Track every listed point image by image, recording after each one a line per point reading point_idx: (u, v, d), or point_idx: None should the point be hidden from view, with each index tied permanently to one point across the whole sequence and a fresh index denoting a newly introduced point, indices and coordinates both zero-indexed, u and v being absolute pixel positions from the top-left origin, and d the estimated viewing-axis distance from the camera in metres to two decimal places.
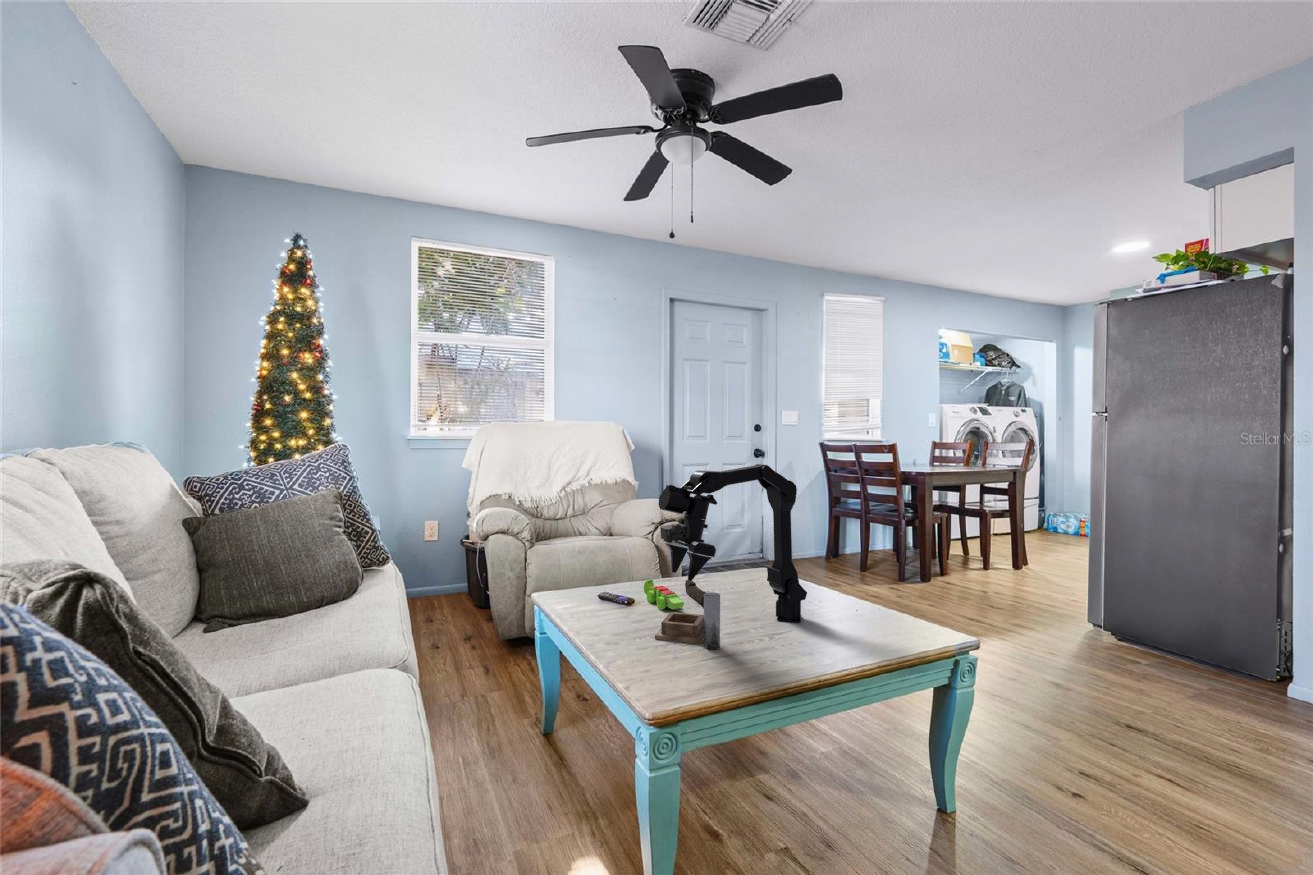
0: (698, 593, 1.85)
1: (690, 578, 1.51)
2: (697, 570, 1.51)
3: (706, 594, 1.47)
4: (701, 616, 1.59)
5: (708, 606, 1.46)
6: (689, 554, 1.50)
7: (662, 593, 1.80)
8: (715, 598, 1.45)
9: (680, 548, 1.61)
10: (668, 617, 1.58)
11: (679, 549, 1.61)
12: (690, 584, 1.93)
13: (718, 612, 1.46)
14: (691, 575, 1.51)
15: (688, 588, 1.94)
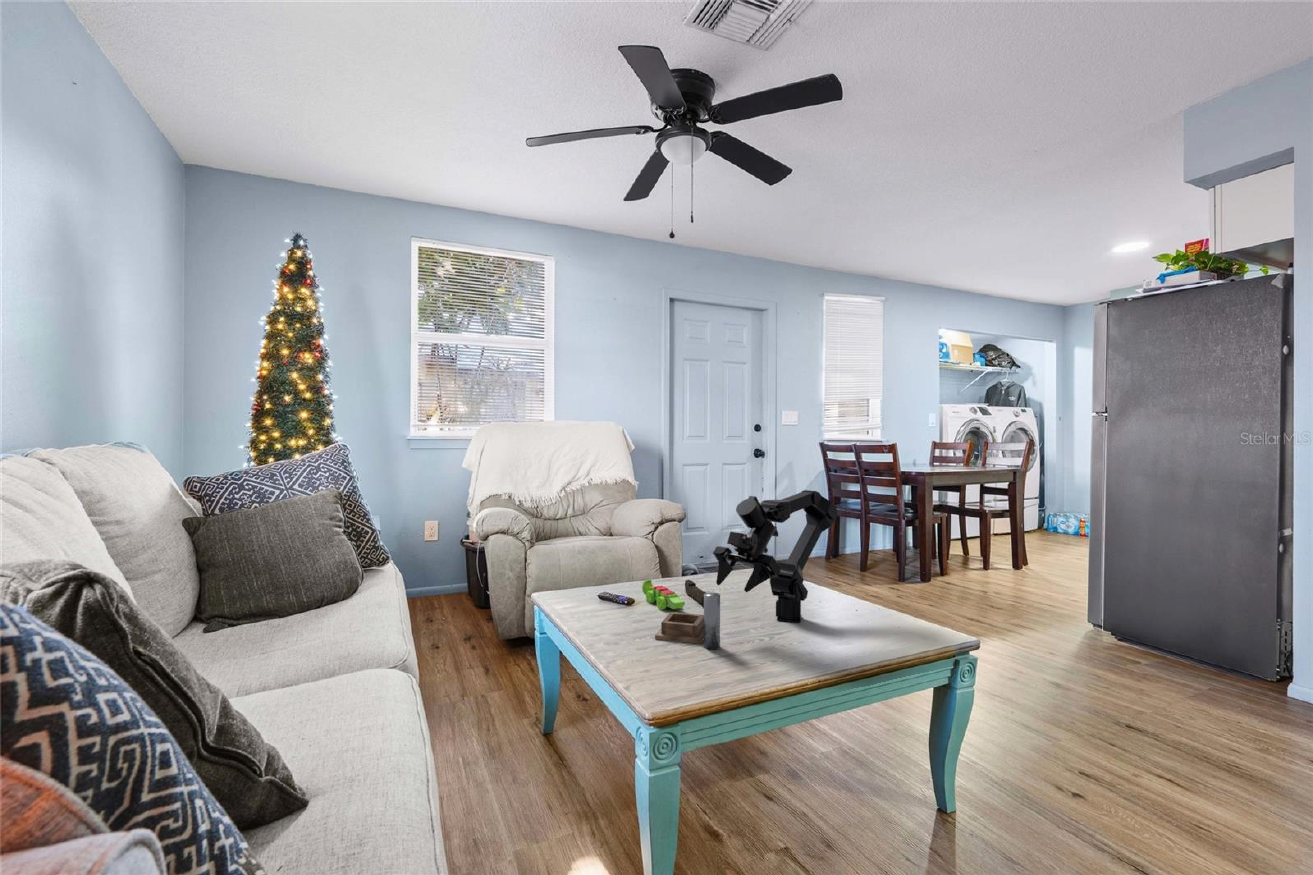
0: (698, 593, 1.85)
1: (747, 589, 1.49)
2: (755, 584, 1.50)
3: (706, 594, 1.47)
4: (701, 616, 1.59)
5: (708, 606, 1.46)
6: (757, 564, 1.50)
7: (662, 593, 1.80)
8: (715, 598, 1.45)
9: (728, 564, 1.60)
10: (668, 617, 1.58)
11: (727, 565, 1.59)
12: (690, 584, 1.93)
13: (718, 612, 1.46)
14: (749, 586, 1.49)
15: (688, 588, 1.94)
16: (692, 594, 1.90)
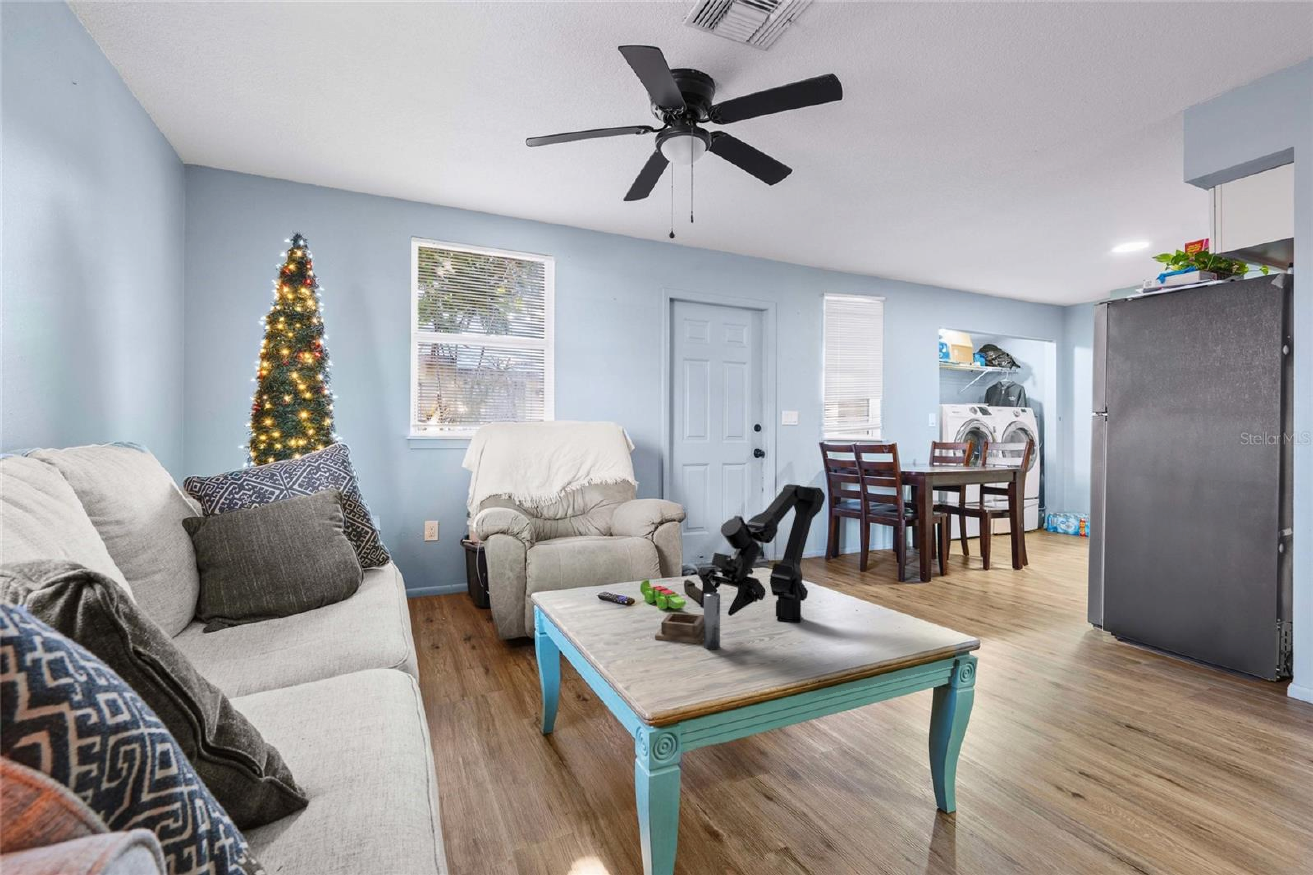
0: (698, 593, 1.85)
1: (731, 613, 1.45)
2: (739, 608, 1.46)
3: (706, 594, 1.47)
4: (701, 616, 1.59)
5: (708, 606, 1.46)
6: (741, 587, 1.45)
7: (663, 593, 1.80)
8: (715, 598, 1.45)
9: (712, 586, 1.55)
10: (668, 617, 1.58)
11: (712, 586, 1.55)
12: (689, 584, 1.93)
13: (718, 612, 1.46)
14: (733, 609, 1.45)
15: (687, 588, 1.93)
16: (692, 594, 1.90)
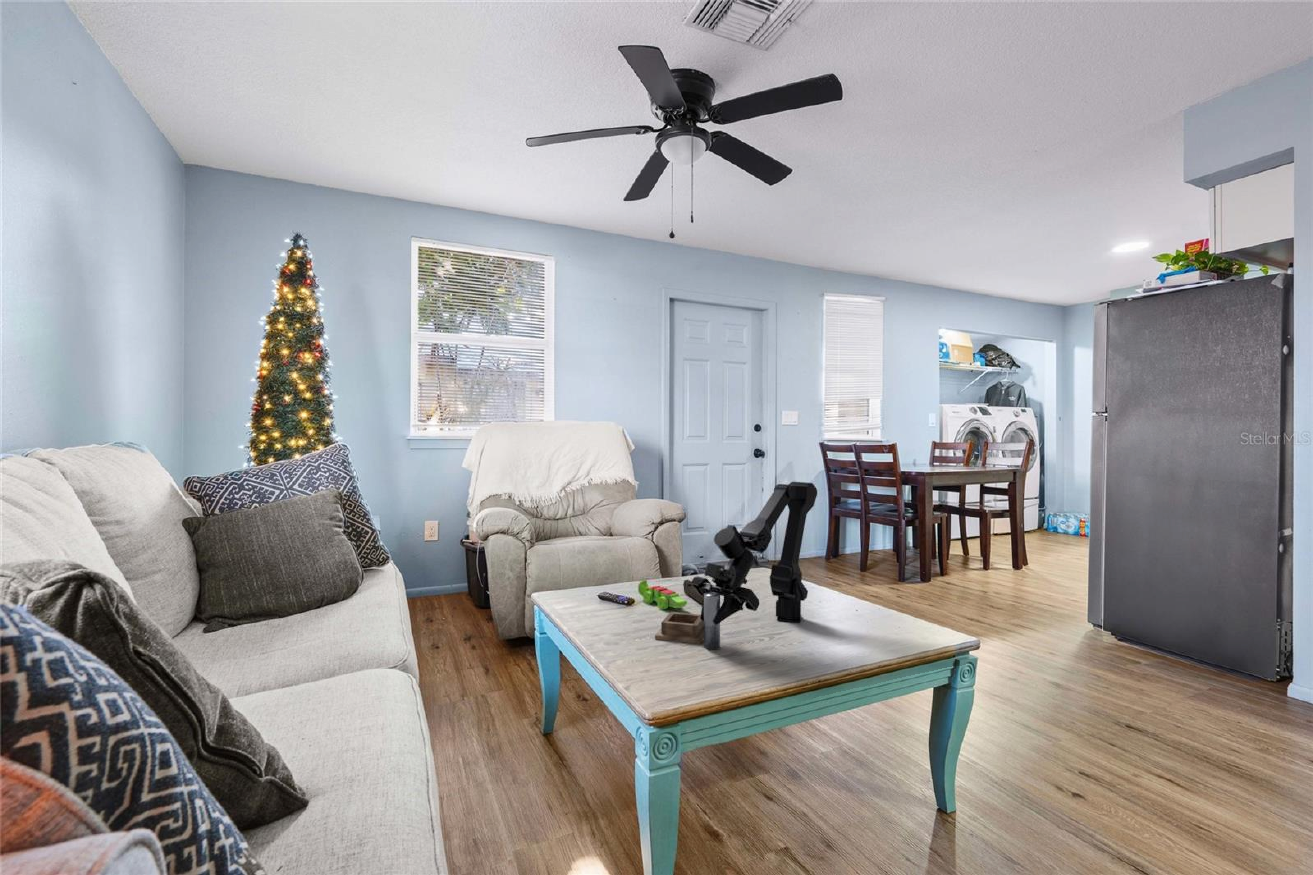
0: None
1: (716, 621, 1.45)
2: (725, 616, 1.46)
3: (706, 594, 1.47)
4: None
5: (708, 606, 1.46)
6: (727, 596, 1.45)
7: (663, 593, 1.80)
8: (715, 598, 1.45)
9: None
10: (668, 617, 1.58)
11: None
12: (689, 584, 1.93)
13: None
14: (719, 618, 1.45)
15: (687, 588, 1.93)
16: (691, 594, 1.90)
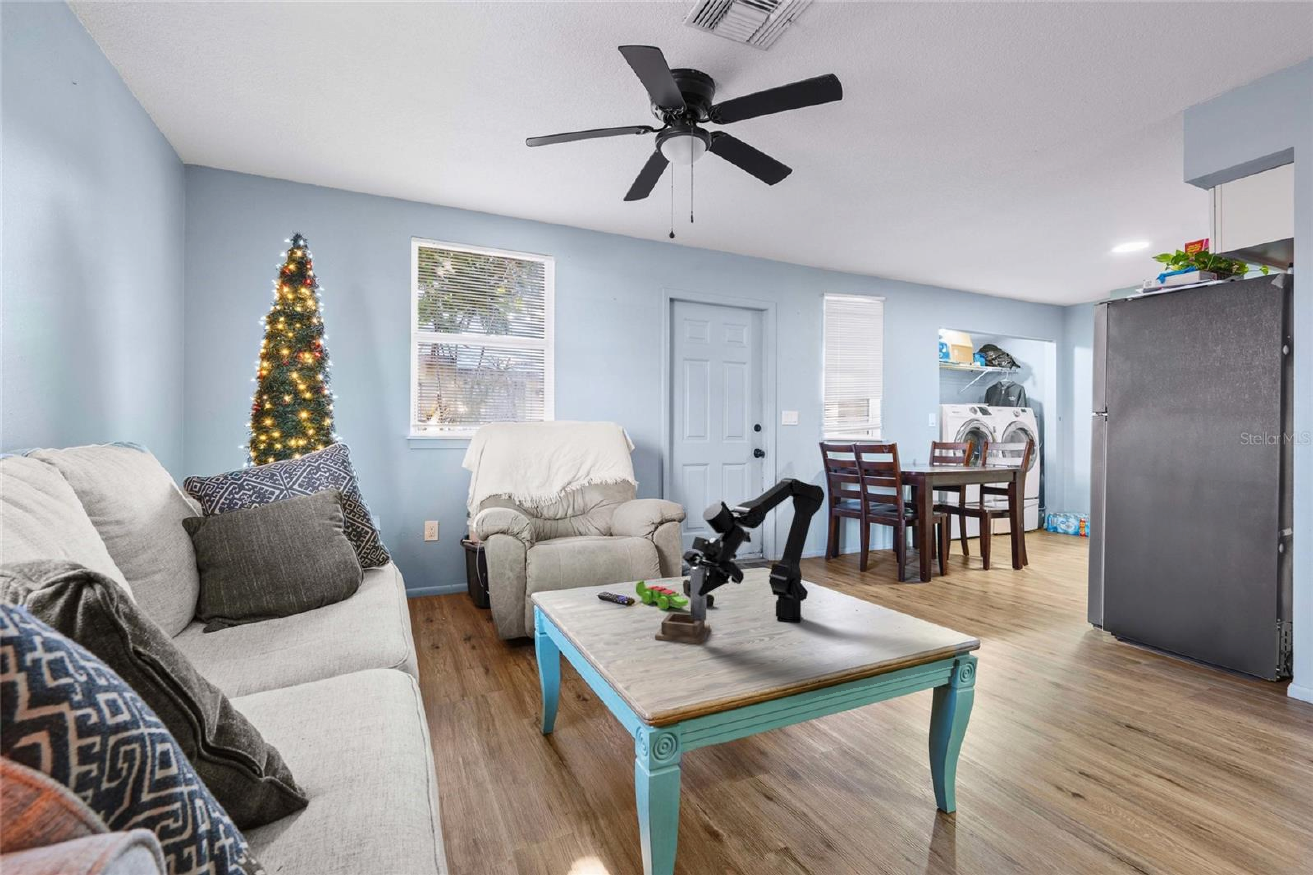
0: None
1: (701, 593, 1.48)
2: (710, 589, 1.49)
3: (693, 567, 1.51)
4: None
5: (693, 578, 1.49)
6: (712, 569, 1.49)
7: (663, 593, 1.80)
8: (700, 571, 1.49)
9: None
10: (668, 617, 1.58)
11: None
12: None
13: None
14: (703, 590, 1.48)
15: (687, 588, 1.93)
16: None
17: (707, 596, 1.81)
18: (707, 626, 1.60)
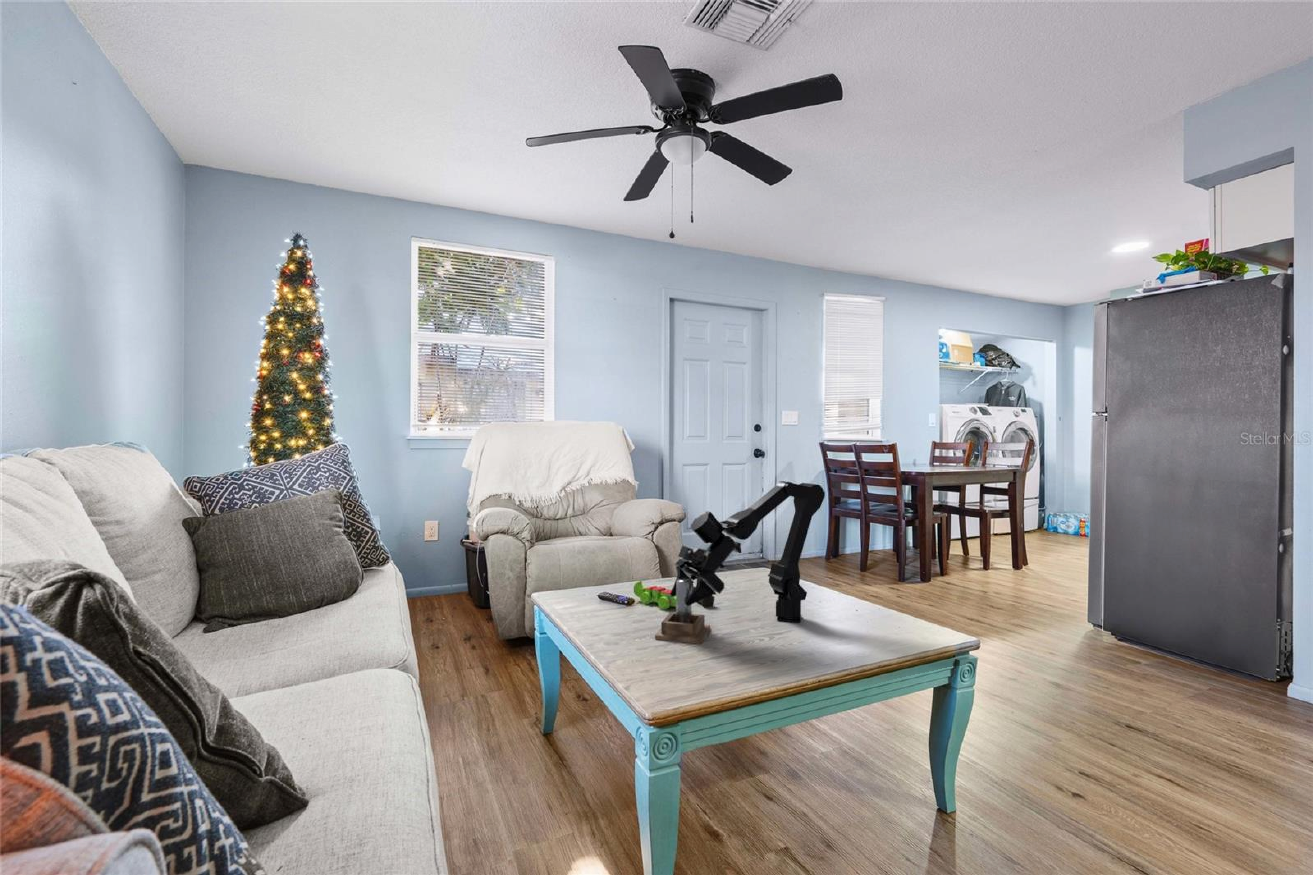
0: None
1: (688, 603, 1.52)
2: (697, 599, 1.52)
3: (679, 580, 1.58)
4: (701, 616, 1.59)
5: (678, 591, 1.56)
6: (698, 579, 1.52)
7: (663, 593, 1.80)
8: (684, 584, 1.55)
9: (687, 577, 1.63)
10: (668, 617, 1.58)
11: (686, 578, 1.63)
12: None
13: (687, 598, 1.55)
14: (690, 600, 1.52)
15: None
16: None
17: None
18: (707, 626, 1.60)
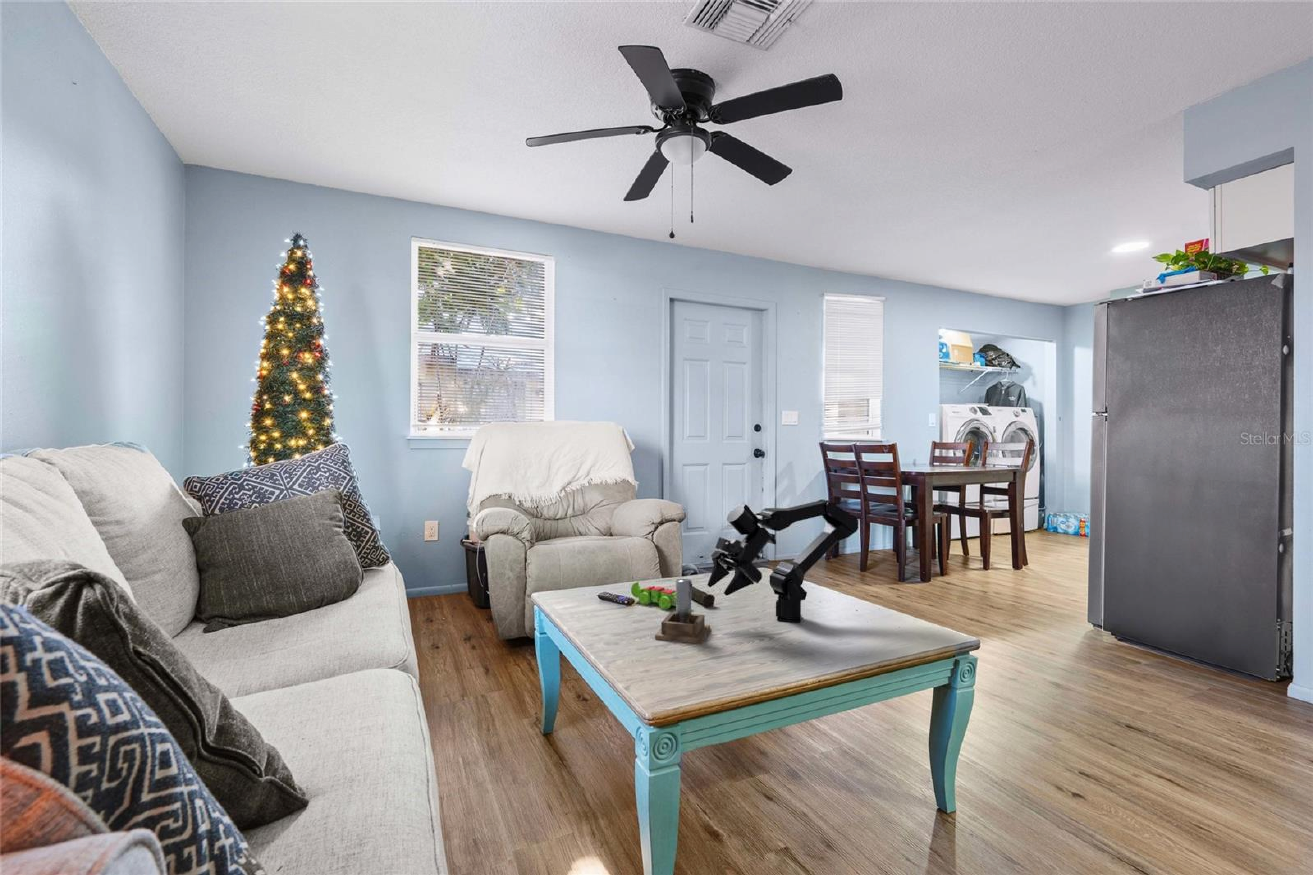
0: (698, 593, 1.85)
1: (726, 593, 1.56)
2: (736, 589, 1.57)
3: (678, 580, 1.57)
4: (701, 616, 1.59)
5: (678, 591, 1.56)
6: (737, 570, 1.56)
7: (664, 593, 1.81)
8: (683, 584, 1.55)
9: (723, 568, 1.68)
10: (668, 617, 1.58)
11: (722, 569, 1.67)
12: None
13: (686, 598, 1.55)
14: (729, 590, 1.56)
15: None
16: None
17: (708, 596, 1.81)
18: (707, 626, 1.60)
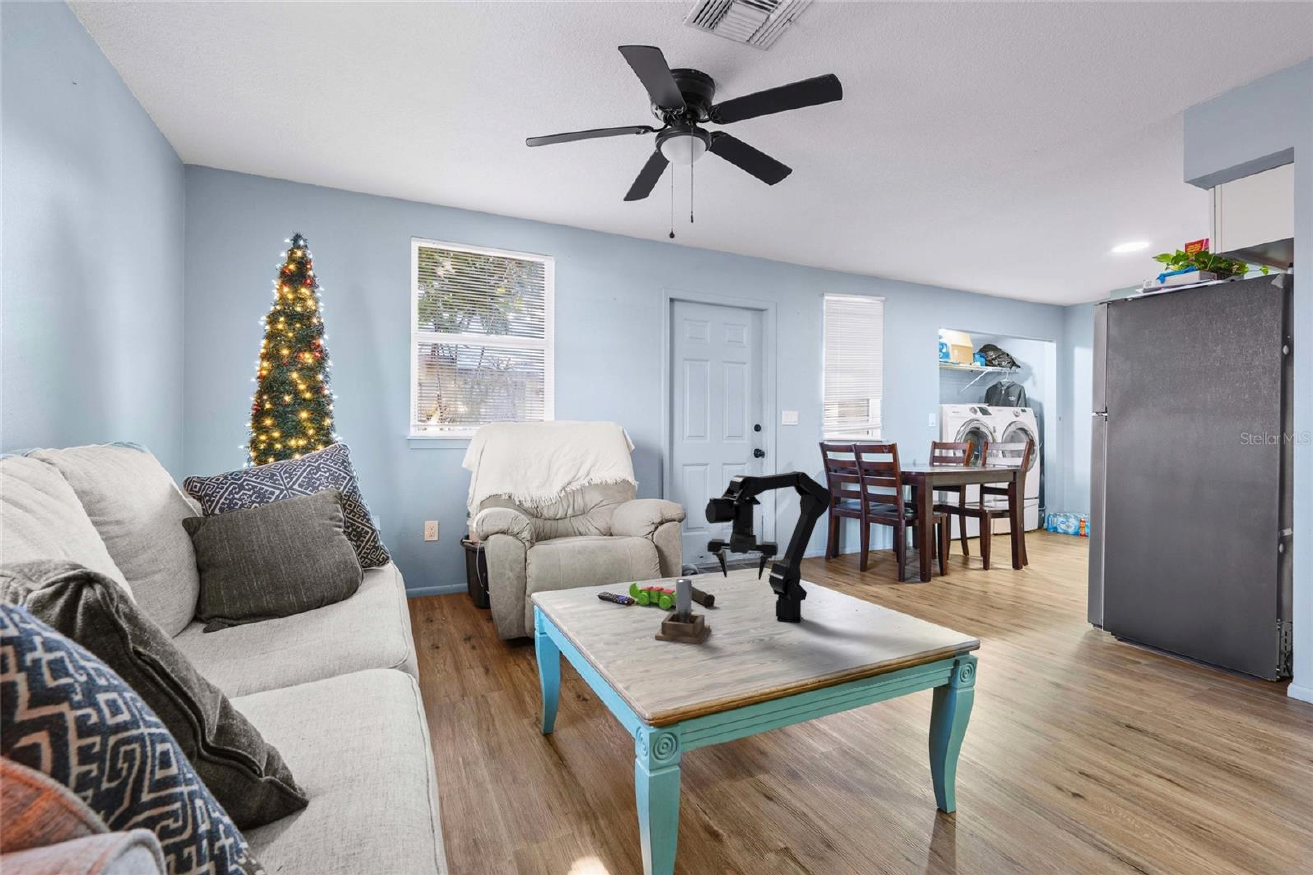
0: (698, 593, 1.85)
1: (760, 577, 1.62)
2: (763, 568, 1.63)
3: (678, 580, 1.58)
4: (701, 616, 1.59)
5: (678, 591, 1.56)
6: (764, 558, 1.59)
7: (664, 593, 1.81)
8: (684, 584, 1.55)
9: (724, 553, 1.66)
10: (668, 617, 1.58)
11: (724, 554, 1.65)
12: None
13: (686, 598, 1.55)
14: (761, 574, 1.62)
15: None
16: None
17: (708, 596, 1.81)
18: (707, 626, 1.60)
